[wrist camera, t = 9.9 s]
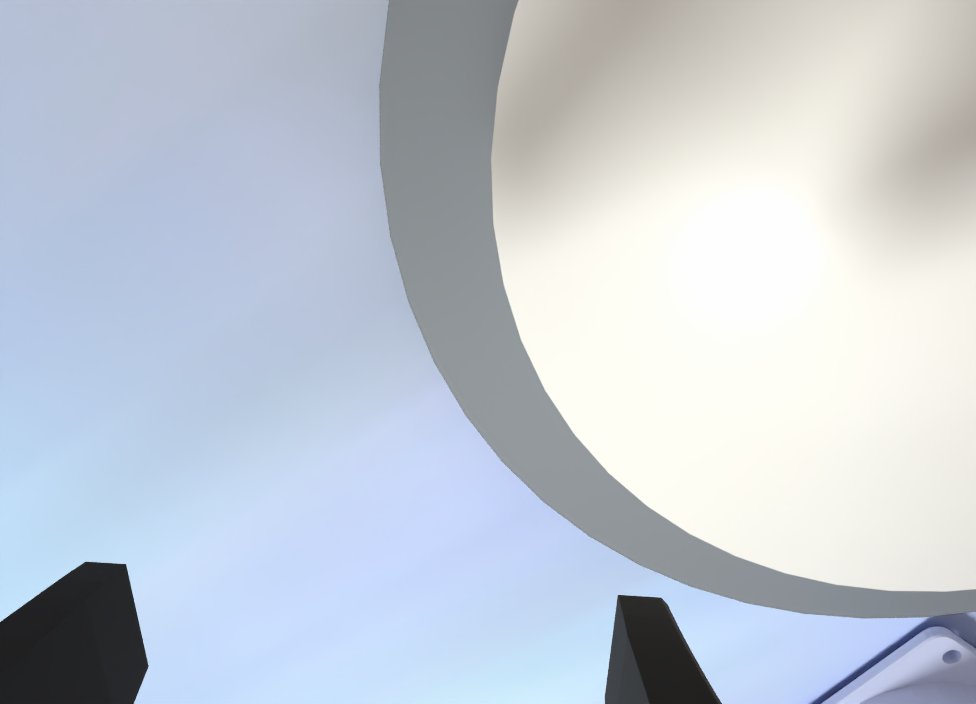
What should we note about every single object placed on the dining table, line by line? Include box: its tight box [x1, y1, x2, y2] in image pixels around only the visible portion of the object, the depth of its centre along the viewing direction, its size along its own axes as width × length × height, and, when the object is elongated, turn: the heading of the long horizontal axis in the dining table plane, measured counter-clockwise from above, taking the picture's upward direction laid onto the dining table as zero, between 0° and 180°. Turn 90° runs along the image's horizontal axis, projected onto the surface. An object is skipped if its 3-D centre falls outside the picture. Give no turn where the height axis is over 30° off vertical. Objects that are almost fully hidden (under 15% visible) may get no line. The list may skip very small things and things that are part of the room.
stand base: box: [379, 0, 976, 618], centre depth 16 cm, size 25×25×1 cm
